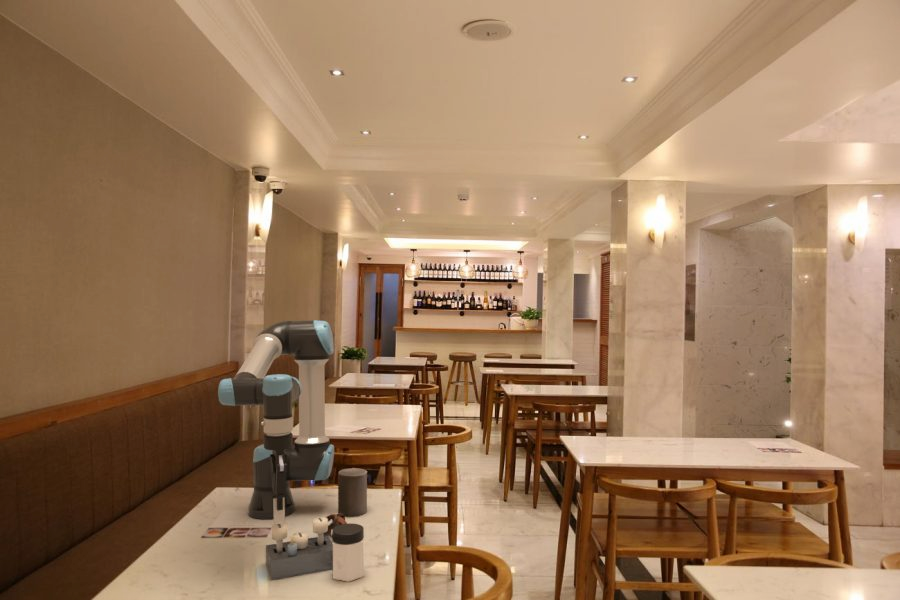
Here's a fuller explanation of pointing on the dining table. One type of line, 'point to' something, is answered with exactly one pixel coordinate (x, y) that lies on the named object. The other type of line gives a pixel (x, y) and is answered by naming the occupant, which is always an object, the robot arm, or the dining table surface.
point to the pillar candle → (352, 492)
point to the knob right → (320, 528)
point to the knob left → (279, 535)
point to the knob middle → (301, 540)
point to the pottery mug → (335, 522)
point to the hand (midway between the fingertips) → (279, 520)
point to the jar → (348, 552)
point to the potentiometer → (292, 548)
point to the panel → (299, 559)
